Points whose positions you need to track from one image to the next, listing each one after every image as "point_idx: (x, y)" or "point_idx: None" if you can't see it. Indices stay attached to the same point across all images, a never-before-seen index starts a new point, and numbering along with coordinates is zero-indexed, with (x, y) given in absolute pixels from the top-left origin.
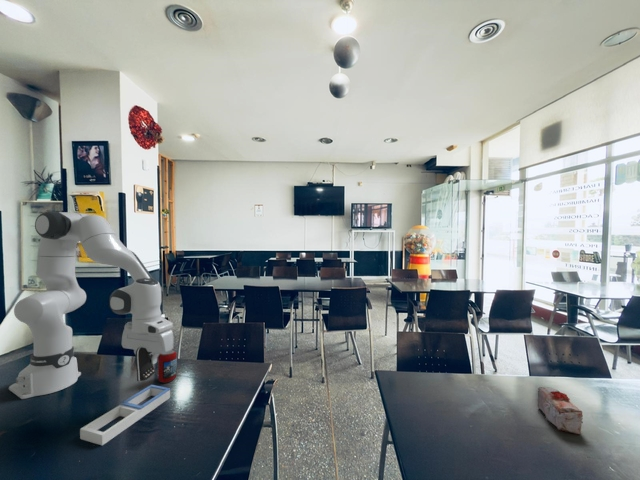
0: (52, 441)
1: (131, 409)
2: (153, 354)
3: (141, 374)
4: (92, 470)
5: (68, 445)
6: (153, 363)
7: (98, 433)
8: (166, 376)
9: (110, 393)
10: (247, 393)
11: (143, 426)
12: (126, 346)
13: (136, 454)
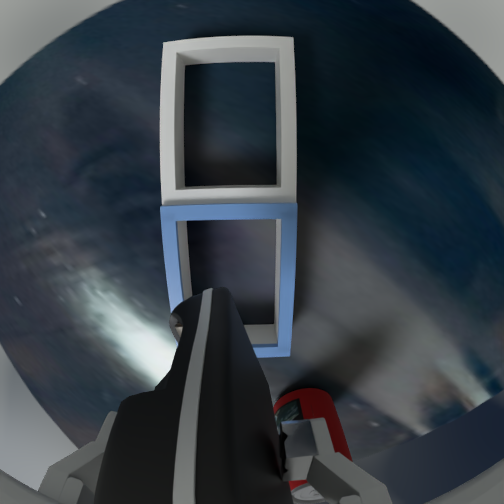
0: (362, 34)
1: (204, 190)
2: (61, 479)
3: (183, 320)
4: (114, 11)
5: (291, 26)
6: (109, 415)
7: (189, 41)
8: (288, 408)
9: (433, 281)
10: (26, 377)
11: (122, 171)
12: (495, 488)
13: (51, 90)
